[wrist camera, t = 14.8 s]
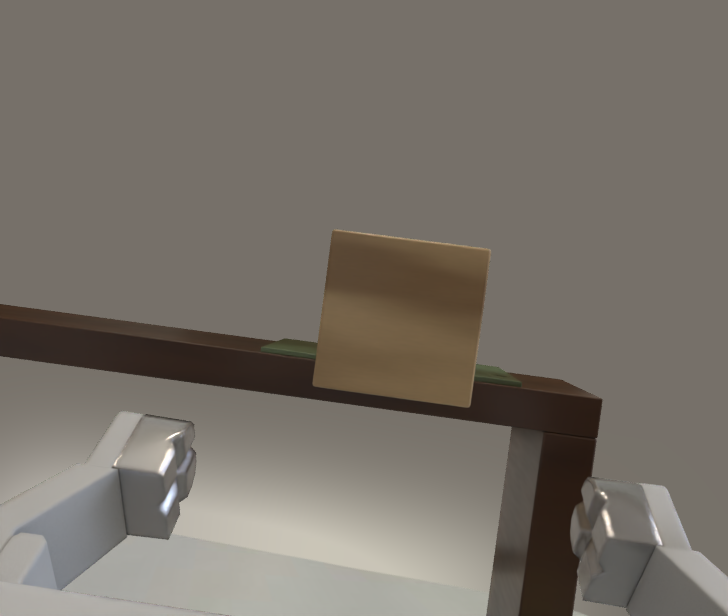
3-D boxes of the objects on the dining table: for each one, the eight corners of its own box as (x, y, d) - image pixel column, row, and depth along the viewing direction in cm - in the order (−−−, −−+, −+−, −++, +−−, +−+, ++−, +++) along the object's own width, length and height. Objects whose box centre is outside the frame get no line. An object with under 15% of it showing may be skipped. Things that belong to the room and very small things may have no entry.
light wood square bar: (470, 408, 17) (491, 248, 16) (311, 386, 17) (332, 228, 17) (425, 345, 40) (434, 279, 39) (358, 336, 40) (367, 270, 40)
